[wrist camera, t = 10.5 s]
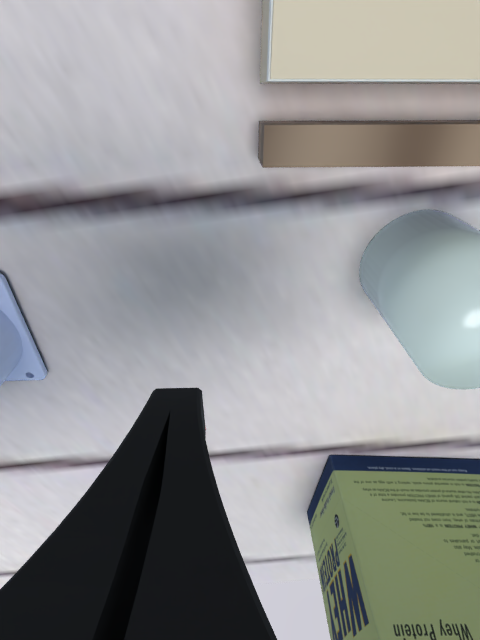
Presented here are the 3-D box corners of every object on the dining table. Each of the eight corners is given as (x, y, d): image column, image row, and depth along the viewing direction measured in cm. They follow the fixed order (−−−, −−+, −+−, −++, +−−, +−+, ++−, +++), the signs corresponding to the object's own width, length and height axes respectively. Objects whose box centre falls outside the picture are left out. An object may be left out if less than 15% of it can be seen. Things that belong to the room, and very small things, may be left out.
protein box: (325, 453, 29) (402, 736, 16) (492, 457, 30) (689, 726, 17) (303, 512, 35) (347, 755, 22) (444, 514, 36) (564, 747, 23)
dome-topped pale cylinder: (350, 307, 21) (398, 390, 15) (371, 210, 17) (444, 267, 11) (445, 306, 21) (529, 388, 15) (484, 209, 17) (613, 265, 12)
